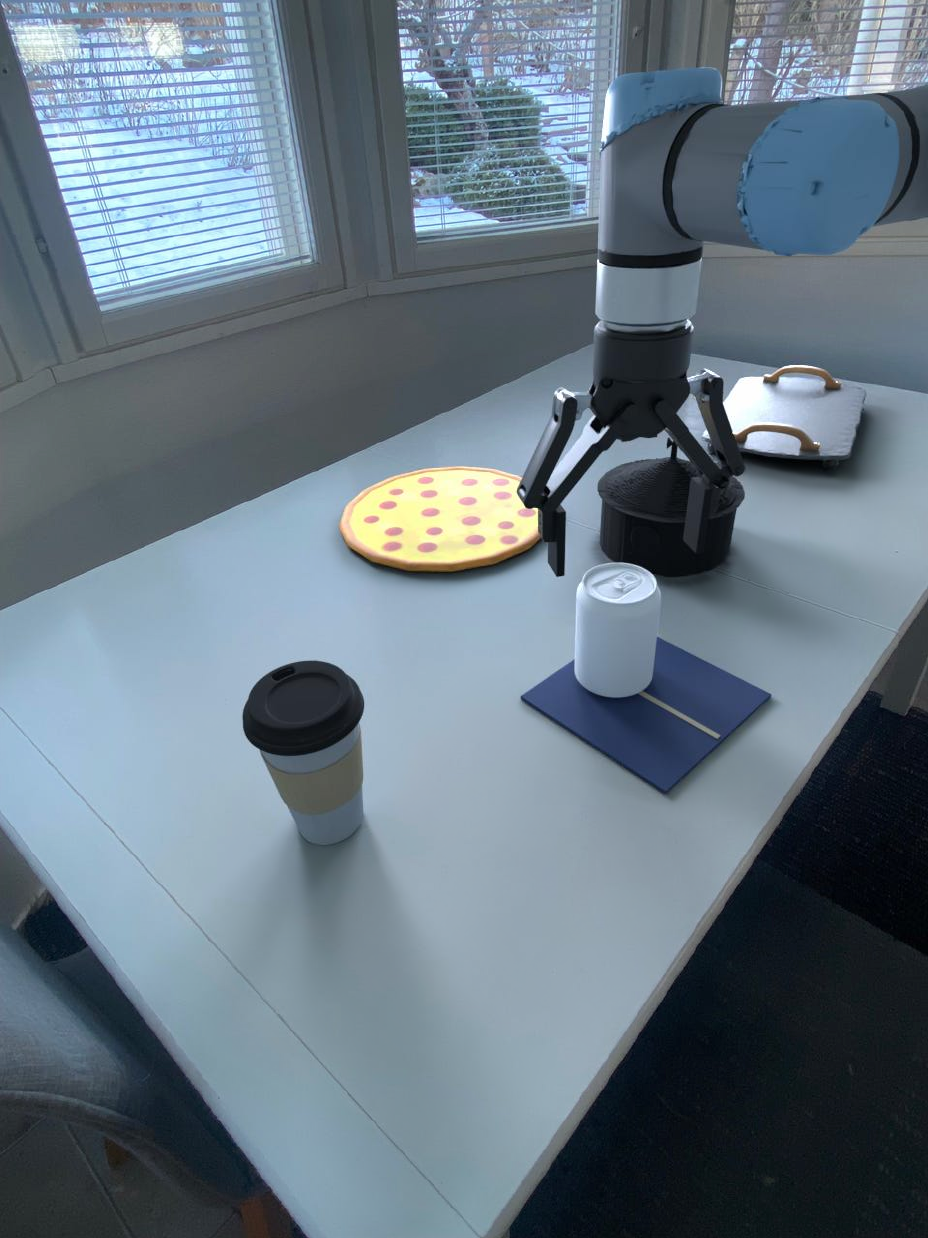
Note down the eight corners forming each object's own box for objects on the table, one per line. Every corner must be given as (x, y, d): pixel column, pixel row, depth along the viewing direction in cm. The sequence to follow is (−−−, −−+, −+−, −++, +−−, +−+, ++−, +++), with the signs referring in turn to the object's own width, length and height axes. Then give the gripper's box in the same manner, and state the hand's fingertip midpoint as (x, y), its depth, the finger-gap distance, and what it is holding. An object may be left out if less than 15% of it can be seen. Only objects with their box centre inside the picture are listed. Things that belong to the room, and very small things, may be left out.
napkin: (771, 697, 74) (772, 693, 74) (665, 794, 65) (666, 791, 65) (628, 624, 85) (628, 621, 85) (520, 698, 76) (520, 695, 76)
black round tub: (573, 560, 97) (577, 455, 89) (622, 502, 110) (629, 405, 101) (712, 593, 89) (732, 481, 81) (747, 527, 102) (768, 424, 93)
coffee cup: (318, 766, 70) (287, 643, 61) (403, 797, 66) (383, 670, 57) (254, 841, 63) (210, 715, 54) (345, 880, 60) (313, 752, 51)
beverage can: (558, 674, 78) (559, 581, 71) (611, 642, 82) (617, 551, 75) (614, 713, 73) (621, 617, 66) (668, 678, 76) (680, 583, 69)
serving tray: (740, 386, 148) (745, 354, 144) (866, 398, 138) (875, 365, 135) (692, 459, 121) (697, 423, 117) (845, 482, 111) (855, 443, 108)
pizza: (590, 495, 112) (590, 488, 112) (478, 598, 91) (477, 591, 90) (423, 457, 127) (422, 451, 127) (294, 538, 106) (292, 531, 106)
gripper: (766, 292, 61) (728, 519, 73) (475, 326, 57) (486, 558, 70) (820, 312, 55) (769, 555, 67) (499, 351, 51) (507, 600, 64)
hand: (625, 557), depth 68 cm, fingers open, 13 cm apart
